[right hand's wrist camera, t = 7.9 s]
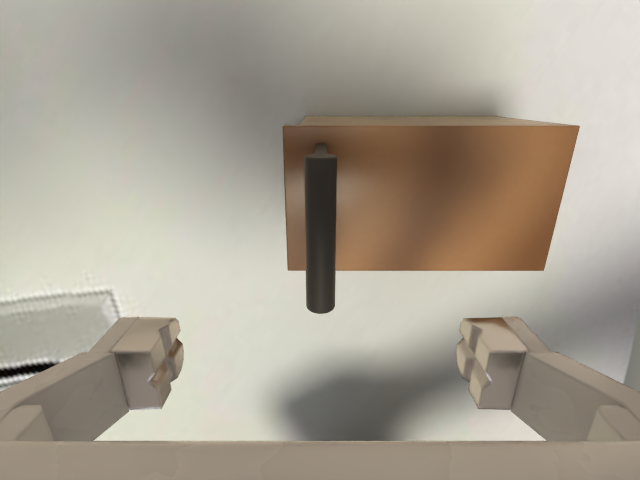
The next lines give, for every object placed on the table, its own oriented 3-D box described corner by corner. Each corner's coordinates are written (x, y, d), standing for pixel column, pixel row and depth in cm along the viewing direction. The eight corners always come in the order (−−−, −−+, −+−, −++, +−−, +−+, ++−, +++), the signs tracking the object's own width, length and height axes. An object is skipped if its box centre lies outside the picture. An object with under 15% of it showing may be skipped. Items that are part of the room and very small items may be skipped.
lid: (288, 265, 26) (276, 328, 19) (283, 124, 23) (266, 137, 15) (537, 265, 26) (618, 328, 19) (570, 124, 23) (686, 137, 15)
